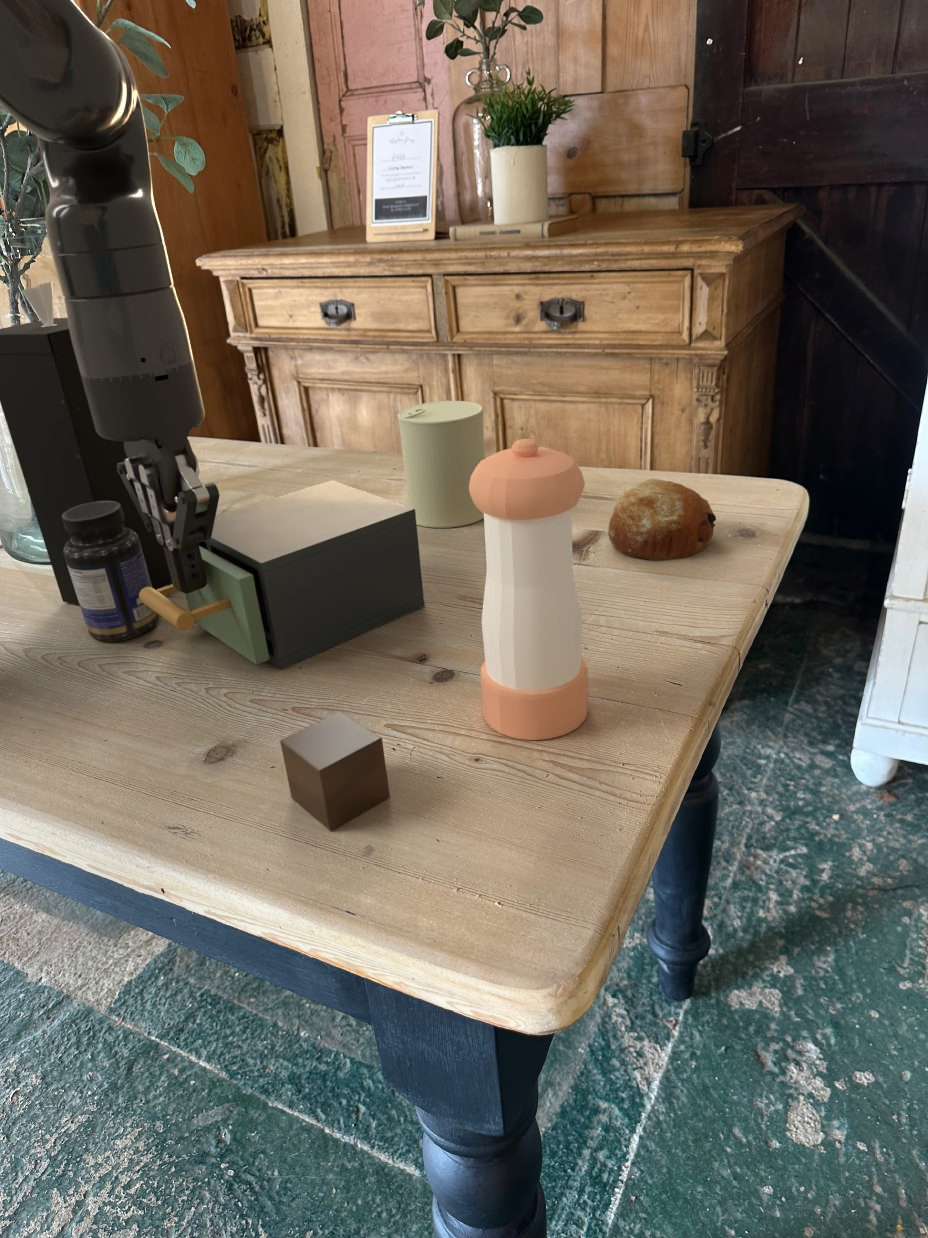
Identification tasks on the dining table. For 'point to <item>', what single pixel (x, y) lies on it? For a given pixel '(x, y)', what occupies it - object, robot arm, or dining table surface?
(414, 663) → the dining table surface
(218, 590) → the drawer
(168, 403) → the robot arm
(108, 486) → the black tall box
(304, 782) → the block
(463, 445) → the can
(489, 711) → the pepper shaker
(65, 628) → the dining table surface
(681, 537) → the bread roll
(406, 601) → the cabinet
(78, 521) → the pill bottle
